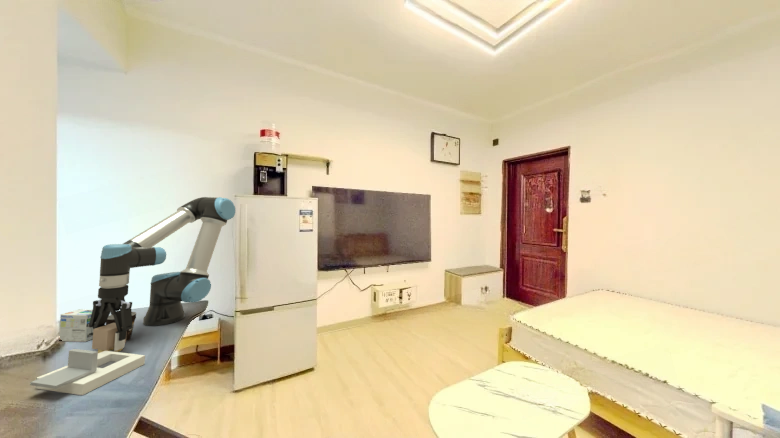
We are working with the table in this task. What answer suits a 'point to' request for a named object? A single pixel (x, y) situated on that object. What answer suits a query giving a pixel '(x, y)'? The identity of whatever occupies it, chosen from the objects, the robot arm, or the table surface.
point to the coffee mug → (129, 331)
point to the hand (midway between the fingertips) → (109, 347)
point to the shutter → (71, 369)
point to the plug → (105, 338)
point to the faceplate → (101, 372)
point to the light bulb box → (76, 326)
